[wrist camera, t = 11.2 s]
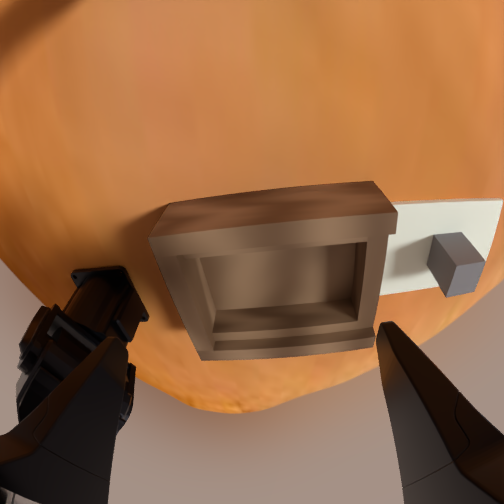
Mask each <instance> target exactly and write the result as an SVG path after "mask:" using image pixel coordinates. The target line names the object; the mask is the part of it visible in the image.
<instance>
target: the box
mask: <svg viewBox="0 0 504 504" xmlns="http://www.w3.org/2000/svg"><path fill="white" fill-rule="evenodd" d="M397 220H398V211H397V210H396V209H395V207H394V206H393V205H392V204H391V202H390V201H389V200H388V199H387V197H386V196H385V195H384V194H383V192H382V191H381V190H380V189H379V188H378V186H377V185H376V184H375V183H374V182H373V181H367V182H351V183H336V184H323V185H311V186H300V187H290V188H280V189H271V190H262V191H253V192H245V193H237V194H229V195H222V196H214V197H207V198H200V199H194V200H187V201H181V202H174V203H169V205H168V206H167V208H166V209H165V211H164V212H163V214H162V215H161V217H160V219H159V220H158V222H157V223H156V225H155V227H154V228H153V230H152V231H151V233H150V235H149V236H148V241H149V243H150V246H151V249H152V251H153V254H154V256H155V259H156V261H157V264H158V266H159V269H160V271H161V274H162V276H163V278H164V281H165V283H166V285H167V288H168V290H169V292H170V295H171V297H172V299H173V302H174V304H175V306H176V308H177V310H178V313H179V315H180V317H181V319H182V321H183V324H184V326H185V328H186V330H187V332H188V334H189V336H190V338H191V340H192V342H193V344H194V347H195V349H196V351H197V353H198V355H199V357H200V359H201V361H210V360H251V359H270V358H285V357H297V356H308V355H318V354H327V353H335V352H343V351H351V350H358V349H365V348H371V347H373V345H374V341H375V337H376V336H375V333H374V329H373V324H374V319H375V315H376V310H377V305H378V300H379V295H380V289H381V284H382V278H383V272H384V266H385V259H386V252H387V245H388V237H389V235H392V234H396V228H397Z"/></svg>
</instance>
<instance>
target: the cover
mask: <svg viewBox="0 0 504 504" xmlns="http://www.w3.org/2000/svg"><path fill="white" fill-rule="evenodd" d="M391 204H392V205H393V206H394V207H395V209H396V210H397V211H398V220H397V228H396V234H392V235H389V237H388V245H387V252H386V259H385V266H384V272H383V278H382V284H381V289H380V295H386V294H393V293H400V292H407V291H413V290H419V289H426V288H432V287H438V286H440V288H441V290H442V292H443V293H444V295H445V297H451V296H456V295H461V294H466V293H470V292H474V291H475V288H476V286H477V283H478V281H479V278H480V276H481V273H482V271H483V268H484V265H485V262H486V259H487V256H488V253H489V250H490V247H491V244H492V241H493V238H494V234H495V231H496V227H497V224H498V220H499V216H500V212H501V208H502V204H503V200H502V199H501V198H471V199H441V200H418V201H400V202H391Z"/></svg>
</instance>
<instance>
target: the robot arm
mask: <svg viewBox="0 0 504 504" xmlns="http://www.w3.org/2000/svg"><path fill="white" fill-rule="evenodd" d="M121 272H122V273H121ZM71 278H72V279H73V281H74V283H75V284H76V286H77V289H76V290H75V292H74V294H73V295H72V297H71V298H70V300H69V301H68V303H67V305H66V306H65V308H64V310H63V311H62V310H61V309H60V307H59V306H58V305H57V304H54V305H53V307H52V308H51V309H50V308H49V307H45V306H41V308H40V309H39V310H38V312H37V313H36V315H35V316H34V318H33V320H32V321H31V323H30V325H29V327H28V328H27V330H26V332H25V334H24V336H23V337H22V340H21V342H20V343H19V347H20V352H21V354H20V357H19V358H20V361H19V364H18V367H17V368H18V369H19V370H21V371H22V374H21V376H20V378H19V380H18V382H17V384H16V402H17V412H18V421H19V424H18V425H17V426H16V427H14V428H13V429H12V430H11V431H10V432H8V433H6V434H4V435H0V504H108V495H109V485H110V475H111V468H112V460H113V453H114V446H115V440H116V435H117V433H118V432H119V430H120V429H121V428H122V427H123V426H124V424H125V422H126V421H127V419H128V418H129V416H130V413H131V411H132V407H133V399H134V384H135V372H136V366H134V365H133V364H132V363H128V351H127V349H126V346H127V344H128V342H131V341H132V340H133V337H134V335H135V332H136V330H137V327H138V325H139V322H146V321H148V319H149V314H148V312H147V310H146V309H145V307H144V305H143V303H142V301H141V299H140V297H139V295H138V293H137V291H136V289H135V287H134V285H133V283H132V281H131V279H130V277H129V275H128V273H127V271H126V269H125V268H124V267H122V266H115V267H104V268H94V269H83V270H74V271H73V272H72V273H71ZM376 346H377V352H378V359H379V366H380V373H381V380H382V386H383V391H384V395H385V399H386V403H387V408H388V412H389V417H390V421H391V426H392V431H393V435H394V441H395V446H396V451H397V457H398V463H399V469H400V475H401V481H402V487H403V496H404V504H504V435H503V434H502V433H501V432H500V431H499V430H498V429H497V428H496V427H495V426H493V425H492V424H491V423H490V422H489V421H488V420H487V419H486V418H485V417H484V416H483V415H481V413H480V412H478V411H477V410H476V409H475V408H474V407H473V405H472V404H471V403H470V402H469V401H468V400H467V399H466V398H465V397H464V396H463V395H462V393H461V392H459V390H458V389H457V388H456V387H455V386H454V385H453V384H452V382H451V381H450V380H449V379H448V378H447V377H446V376H445V375H444V374H443V373H442V372H441V370H440V369H438V367H437V366H436V365H435V364H434V363H433V362H432V361H431V360H430V359H429V358H428V357H427V356H426V355H425V353H424V352H423V351H422V350H421V349H420V348H419V347H418V346H417V345H416V344H415V343H414V342H413V341H412V340H411V339H410V338H409V337H408V336H407V335H406V334H405V333H404V332H403V331H402V330H401V329H400V328H399V327H398V326H397V325H396V324H395V323H394V322H393V321H388V322H382V323H381V324H380V326H379V330H378V334H377V338H376Z"/></svg>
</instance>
